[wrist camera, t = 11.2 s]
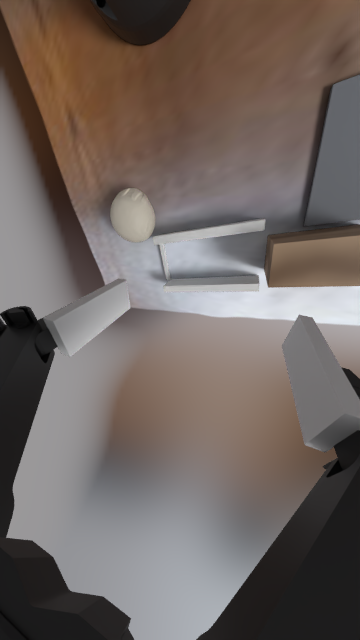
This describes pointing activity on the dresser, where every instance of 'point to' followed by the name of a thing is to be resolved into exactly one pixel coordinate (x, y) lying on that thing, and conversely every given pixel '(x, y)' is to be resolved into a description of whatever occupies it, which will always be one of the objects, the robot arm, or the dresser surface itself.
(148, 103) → the dresser surface
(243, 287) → the rack
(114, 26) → the robot arm
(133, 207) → the cream piece
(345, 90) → the felt pad
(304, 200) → the dresser surface
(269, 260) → the panel
